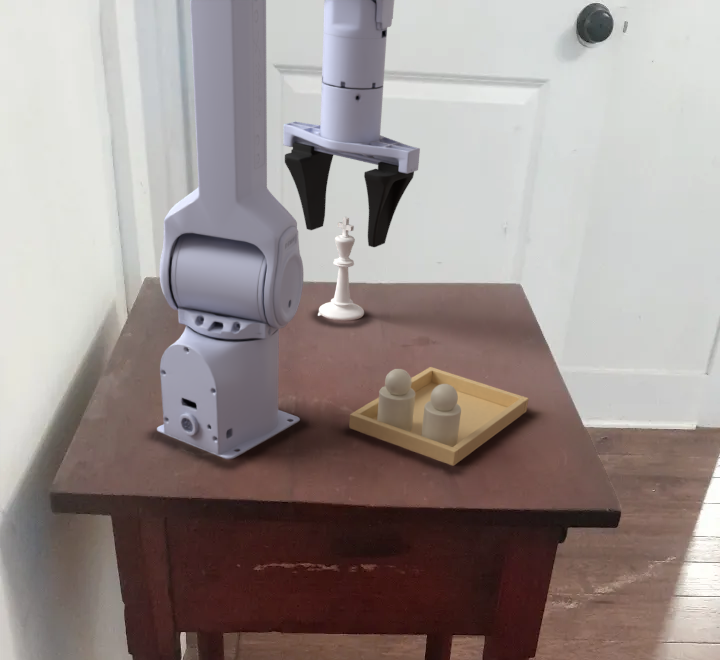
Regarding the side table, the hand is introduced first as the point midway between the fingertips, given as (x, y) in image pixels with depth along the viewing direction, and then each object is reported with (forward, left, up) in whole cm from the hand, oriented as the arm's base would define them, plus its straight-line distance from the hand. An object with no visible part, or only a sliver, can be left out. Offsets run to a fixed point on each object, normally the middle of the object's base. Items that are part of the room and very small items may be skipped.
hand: (345, 236), depth 99 cm
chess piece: (0, 0, -8) cm, 8 cm away
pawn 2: (-19, -23, -8) cm, 31 cm away
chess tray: (-15, -21, -8) cm, 27 cm away
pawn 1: (-19, -19, -8) cm, 28 cm away
